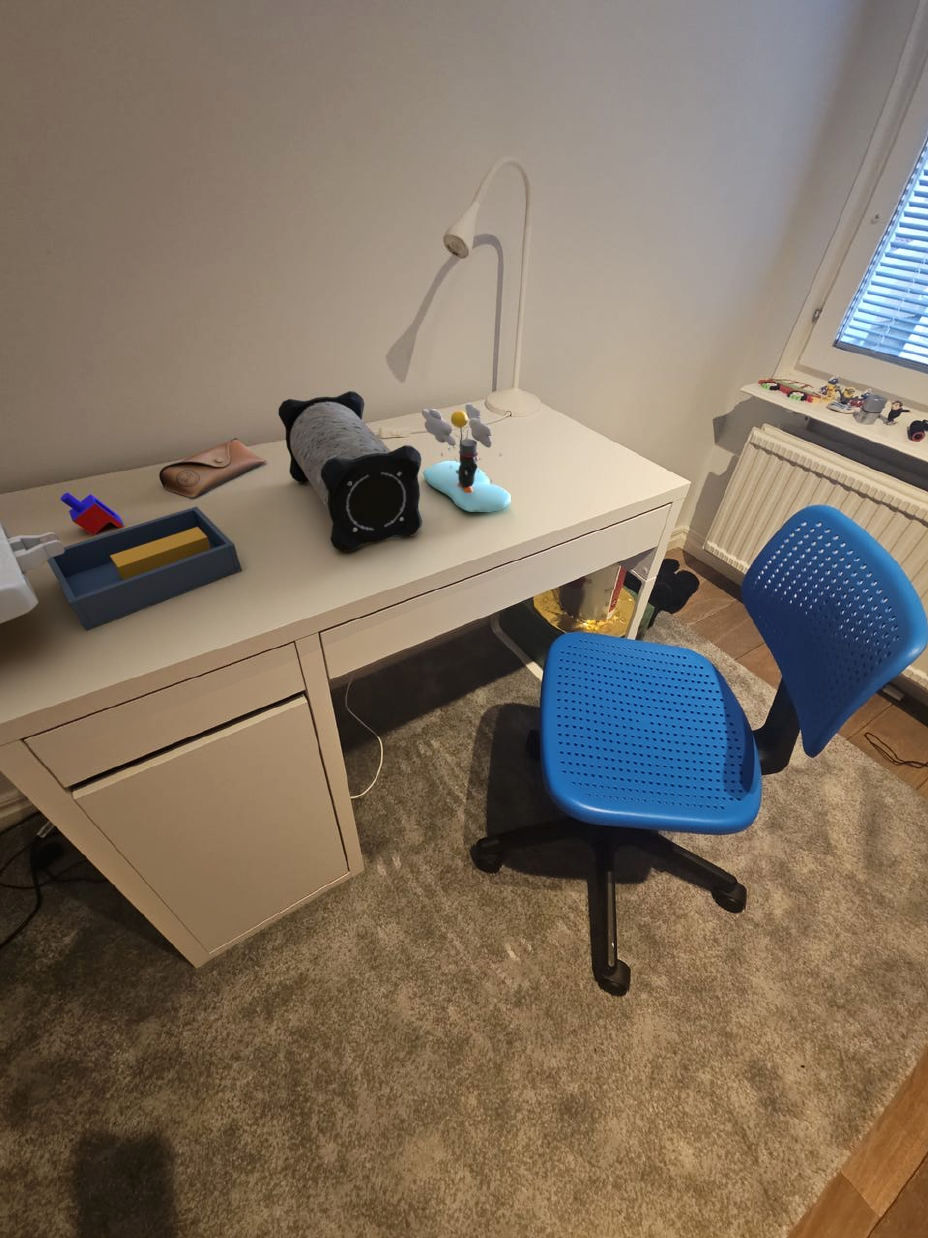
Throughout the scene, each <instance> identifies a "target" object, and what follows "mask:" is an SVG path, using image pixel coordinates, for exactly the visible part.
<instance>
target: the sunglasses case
mask: <svg viewBox="0 0 928 1238" xmlns="http://www.w3.org/2000/svg"><path fill="white" fill-rule="evenodd" d="M266 462H267V460H265V459H262V458H261V457H259V455H257V453H254V452H253V451H252V450H250V449H249V447H247V446H246V445H245V444H243V442H240V440H238V438H237V437H232V438H231V439H229V440H228V441H226V442H224V443H221V444H219V445H216V446H213V447H210V448H208V449H206V450H203V451H201V452H198V453H196V454H194V455H192V456H190V457H187V458H185V459H183V460H180V461H177V462H174V463H170V464H168V465H166V466H164V467H163V468H161V470H160V471H159V473H158V477H159V481H160V483H161V485H162V487H163V488H164V489H165V490H167V491H169V492H171V493H173V494H176V495H179V496H182V497H186V498H190V499H191V498H197V497H198V496H201V495H202V494H203V493H205V492H207V491H208V490H211V489H213V488H215V487H217V486H219V485H221V484H225V483H226V482H228V481H230V480H232V479H235V478H237V477H240V476H241V475H243V474H245V473H248V472H250V471H253V469H255V468H257V467H259V466H261V465H263V464H264V463H266Z"/></svg>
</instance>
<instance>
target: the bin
mask: <svg viewBox="0 0 928 1238" xmlns="http://www.w3.org/2000/svg"><path fill="white" fill-rule="evenodd" d="M196 527H198V528H199V529H200V530H201V531H202V532H203V533H204V534H205V535H206V536H207V538H208V541H209V544H210V547H211V549H210V550H208V551H205V552H202V553H199V554H196V555H193V556H191V557H188V558H185V559H182V560H179V561H176V562H174V563H171V564H168V565H165V566H162V567H159V568H157V569H154V570H151V571H148V572H145V573H143V574H140V575H137V576H134V577H131V578H128V579H126V580H122V579H121V577H120V576H119V574H118V572H117V569H116V567H115V565H114V563H113V561H112V559H111V557H110V555H113V554H116V553H119V552H123V551H126V550H129V549H132V548H135V547H138V546H141V545H144V544H147V543H150V542H153V541H156V540H159V539H162V538H165V537H168V536H171V535H174V534H177V533H181V532H184V531H187V530H190V529H193V528H196ZM63 548H64V550H65V552H64V553H63V554H61V555H58V556H55V557H51V558H50V559H48V560H47V561H46V562H47V563H48V565H49V567H50V569H51V571H52V573H53V575H54V576H55V579H56V580H57V582H58V584H59V586H60V588H61V590H62V592H63V593H64V595H65V597H66V599H67V601H68V604H69V605H70V606H71V608H72V610H73V612H74V614H75V615H76V617H77V618H78V621H79V623H80V624H81V625H82V627H83V629H84V630H85V631H89V630H91V629H95V628H96V627H100V626H101V625H104V624H107V623H110V622H112V621H114V620H117V619H121V618H123V617H125V616H127V615H131V614H133V613H136V612H138V611H141V610H144V609H147V608H148V607H151V606H153V605H154V606H155V605H156V604H160V603H161V602H162V603H163V601H167V600H170V599H172V598H174V597H177V596H180V595H182V594H185V593H188V592H190V591H192V590H195V589H198V588H200V587H202V586H206V585H208V584H211V583H213V582H215V581H218V580H221V579H223V578H226V577H229V576H231V575H234V574H237V573H239V572H241V571H242V566H241V562H240V559H239V556H238V553H237V549H236V546H235V543H234V542H233V541H232V540H231V539H230V538H229V537H227V535H226V534H225V533H224V532H223V531H222V530H221V529H220V528H219V527H218V526H217V525H216V524H215V523H214V522H213V521H212V520H211V519H210V518H209V517H208V516H207V515H206V514H205V513H204V512H203V511H202V510H201V509H200V508H199V507H198V506H193V507H190V508H187V509H183V510H180V511H177V512H174V513H170V514H167V515H163V516H161V517H158V518H154V519H150V520H148V521H145V522H141V523H138V524H135V525H132V526H128V527H125V528H122V529H121V528H120V529H119V530H115V531H112V532H109V533H105V534H103V535H99V536H96V537H92V538H90V539H89V538H88V539H86V540H83V541H80V542H76V543H73V544H70V545H67V546H63Z"/></svg>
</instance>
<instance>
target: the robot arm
mask: <svg viewBox="0 0 928 1238" xmlns="http://www.w3.org/2000/svg"><path fill="white" fill-rule="evenodd" d="M63 547H64V546H63V544H62V543H61V541H60V540H59V537H58V535H57V534H56V533H55V532H54V531H48V532H45V533H42V534H38V535H37V534H36V535H35V534H30V535H29V534H27V535H26V534H25V535H24V534H23V535H15V536H13V537H10V535H9V533H8V531H7V529H6V527H5V526H4V524H3V522H2V521H1V520H0V624H3V623H5V622H8V621H12V620H14V619H16V618H18V617H21V616H23V615H25V614H27V613H30V612H31V611H32V610H33V609H34V608H35V607H36V606H38V605H39V599H38V597H37V595H36V592H35V591H34V589H33V586H32V584H31V582H30V579H29V577H28V575H27V572H29V571H32V570H35V569H38V568H39V567H41V566H42V565H43V564H45V563H46V562H48V561H47V560H48V559H50V558H51V557H55V556H58V555H61V554H63V553H64V552H65V550H64V548H63Z"/></svg>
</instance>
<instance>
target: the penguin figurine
mask: <svg viewBox="0 0 928 1238" xmlns="http://www.w3.org/2000/svg"><path fill="white" fill-rule="evenodd" d="M461 408H462V406H461V407H460V408H458V409H459V410H455V411H453V413H452V414H451V416H450V422H451V424H452V425H453V426H454V427H455V428H457V429H460V436H459V435H457V434H456V433H454V435H455V436H457V437H458V438H459V444H456V440H455V438H454V436H452V431H453V429H452V426H451V425H450V424H449V423H448V421H446V420H445V419H444V418H443V415H442V413H441V412H440V411H439V410H438V409H435V408H430V409H426V408H422V410H421V415H422V417H423V418H424V419H425V421H424V429H425V430H426V432H428V433H429V434H431V435H433V436H434V438H435V440H436V441H437V442H438V443H441V444H443V443H444V444H445V443H446V444H448V445H449V446H447V449H448V451H451V448H450V446H451V447H452V449H453V450H456V447H455V446H456V445H457V446H458V447H459V451H458V454H459V460H458V458H457V457H454V460H444V461H440V462H438V463H435V464H433V465H431V466H428V467H426V468H423V469H424V470H422V475H423V477H424V479H425V480H426V482H427V483H428V484H429V485H430V486H432V487H433V488H435V489H436V490H437V491H440V492H441V493H443V494H445V495H446V496H448V497H449V498H451V499H452V501H453V503H454V504H455V505H456V506H457V507H458V508H460V509H462V510H463V511H466V512H471V513H472V512H473V513H474V512H475V513H478V512H481V513H492V512H497V511H500V510H504V508H506V507H508V506H509V505H510V503H511V500H512V496H511V494H510V493H509V492H508V491H507V490H506V489H504V488H503V487H501V486H499V485H496V484H493V483H490V482H493V481H492V479H489V477H488V476H487V473H486V472H483V471H482V470H481V469H479V468H478V464H477V462H478V461H481V460H482V458H479V457H478V454H479V453H478V442H480V444H481V445H483V446H484V447H486V448H488V449H489V448H491V447H492V439H491V436H492V430H491V428H490V427H489V426H488V425H487V424H485V423H484V422H482V419H481V416H482V415H481V410H480V409H479V408H477V407H476V406H474V405H473V404H471V403H466V404H465V406H464V409H465V411H463V410H461ZM467 424H468V425H467ZM466 425H467V426H466ZM465 427H466V428H467V427H469V429H470V434H471V437H472V439H470V438H469V437H468V435H469V431H466V436H465V439H464V434H463V432H464V431H465V429H466V428H465ZM463 428H464V429H463ZM498 455H499V456H502V453H501V452H499V454H498ZM440 456H441V458H443V456H444V453H440Z"/></svg>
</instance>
